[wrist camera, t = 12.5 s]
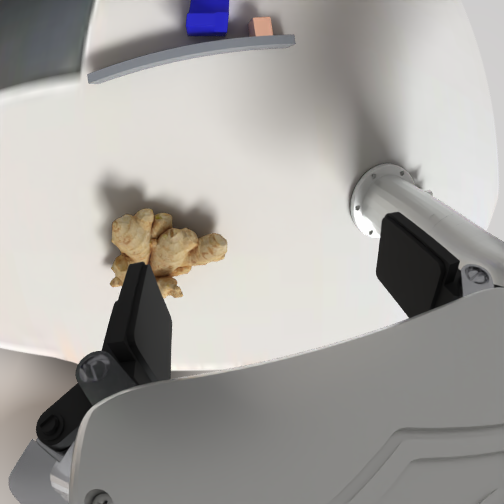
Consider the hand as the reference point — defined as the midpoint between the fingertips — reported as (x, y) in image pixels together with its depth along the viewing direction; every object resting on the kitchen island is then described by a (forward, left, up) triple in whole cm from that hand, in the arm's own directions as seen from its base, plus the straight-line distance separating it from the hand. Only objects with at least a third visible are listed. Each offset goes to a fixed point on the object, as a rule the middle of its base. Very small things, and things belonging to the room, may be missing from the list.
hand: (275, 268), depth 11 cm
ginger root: (+12, +13, -29) cm, 34 cm away
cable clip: (-2, -20, -29) cm, 35 cm away
